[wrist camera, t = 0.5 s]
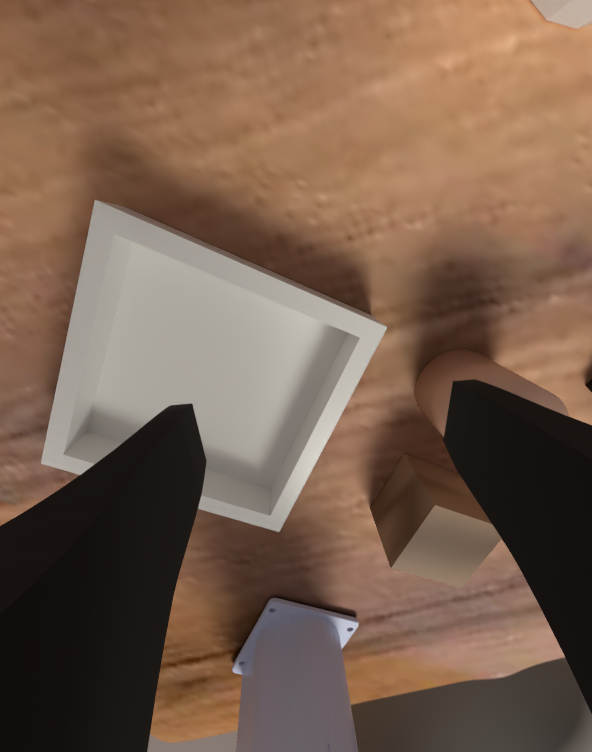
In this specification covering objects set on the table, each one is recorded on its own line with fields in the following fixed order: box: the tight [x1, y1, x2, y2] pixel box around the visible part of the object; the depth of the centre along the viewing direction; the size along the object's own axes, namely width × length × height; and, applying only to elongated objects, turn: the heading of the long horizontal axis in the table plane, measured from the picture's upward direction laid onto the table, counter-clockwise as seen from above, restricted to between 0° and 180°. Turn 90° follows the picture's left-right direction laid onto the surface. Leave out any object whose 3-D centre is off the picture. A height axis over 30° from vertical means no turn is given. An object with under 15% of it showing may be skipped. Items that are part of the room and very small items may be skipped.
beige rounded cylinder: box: [415, 349, 569, 437], centre depth 19 cm, size 5×5×6 cm
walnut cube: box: [370, 454, 502, 588], centre depth 22 cm, size 5×5×5 cm
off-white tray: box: [41, 200, 387, 532], centre depth 19 cm, size 14×14×3 cm
